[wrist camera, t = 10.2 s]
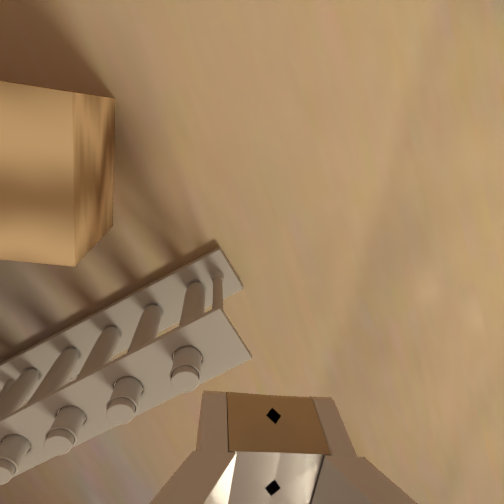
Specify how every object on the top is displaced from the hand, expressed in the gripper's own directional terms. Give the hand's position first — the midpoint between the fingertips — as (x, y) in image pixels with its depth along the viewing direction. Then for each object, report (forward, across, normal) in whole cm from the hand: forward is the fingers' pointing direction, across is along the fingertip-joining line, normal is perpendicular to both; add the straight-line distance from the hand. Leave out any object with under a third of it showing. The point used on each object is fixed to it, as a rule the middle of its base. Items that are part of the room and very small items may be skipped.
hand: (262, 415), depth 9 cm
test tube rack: (+24, +9, +14) cm, 29 cm away
